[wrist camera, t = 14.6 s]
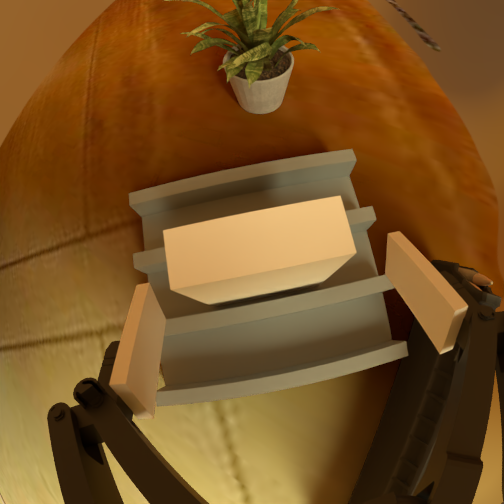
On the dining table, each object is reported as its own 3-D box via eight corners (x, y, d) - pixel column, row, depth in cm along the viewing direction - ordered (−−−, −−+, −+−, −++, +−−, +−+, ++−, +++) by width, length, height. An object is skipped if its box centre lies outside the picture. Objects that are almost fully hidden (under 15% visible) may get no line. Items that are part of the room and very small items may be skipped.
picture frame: (318, 285, 26) (356, 252, 14) (213, 306, 26) (170, 289, 15) (310, 249, 27) (339, 191, 15) (207, 269, 27) (162, 226, 15)
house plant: (171, 87, 34) (131, -18, 18) (264, 43, 35) (259, -59, 19) (231, 164, 31) (202, 36, 15) (335, 107, 32) (364, -11, 16)
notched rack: (388, 352, 26) (408, 355, 21) (173, 395, 26) (156, 406, 22) (342, 172, 30) (352, 149, 26) (146, 211, 30) (128, 193, 26)
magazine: (359, 601, 12) (576, 291, 9) (327, 603, 12) (547, 278, 10) (347, 495, 28) (450, 264, 26) (323, 493, 29) (423, 256, 26)
